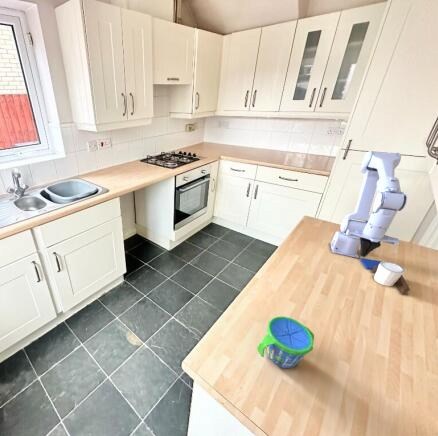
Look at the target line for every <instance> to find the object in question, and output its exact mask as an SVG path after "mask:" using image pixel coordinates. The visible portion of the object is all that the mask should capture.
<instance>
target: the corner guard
mask: <svg viewBox="0 0 438 436" xmlns="http://www.w3.org/2000/svg"><path fill="white" fill-rule="evenodd" d="M377 269H378V266H376V265H374V267H373V269H372V270H371V273H372V274H374V275H375V274H376V271H377ZM395 284H396V286H397V288H398V290H399V291H400V294H401V295H404V296H406V295H407V294H408V293H409V292H410V290H411V287H410V286H409V284H408V283H407V281H406V280H405V278H404V276H403V274H402V275H401V276H400V278H399V279H398V280H397V281H396V282H395Z"/></svg>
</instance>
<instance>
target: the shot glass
mask: <svg viewBox="0 0 438 436" xmlns="http://www.w3.org/2000/svg"><path fill="white" fill-rule="evenodd" d="M381 261H382V260H381ZM405 272H406V271H405V268H403V267H402V266H400V265H398V264H397V263H395V262H391V261H387V260H386V261H385V260H383V261H382V262H380V264H379V266H378V269H377V271H376V274H375V273H374V277H373V279H374V280H375V281H376V282H377V284H381V285H382V286H384V287H393V286H394V285H395V284H396V281H397V280H398V279H399V278H400V276H401V275H402V276H403V274H404V273H405Z"/></svg>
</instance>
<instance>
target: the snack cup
mask: <svg viewBox="0 0 438 436" xmlns="http://www.w3.org/2000/svg"><path fill="white" fill-rule="evenodd" d="M266 331H267V334H266V335H265V336H264V337H263V338H262V340H261V341H260V343H258V344H257V347H256V349H257V352H258V354H259V355H260V357H262V358H265V349H266V352H267V355H268V358H269V359H270V360H271V361H272V362H273V363H274V364H275V365H277V366H279V367H280V368H283V369H291V368H294V367H295V366H296V365H297V364H298V363H299V362H300V361H301V360H302V359H303V358H304V357H305V356H306V355H307V354H309V353H310V352H311V351H313V349H314V340H315V334H314V333H313V331H312V330H311V329H309V327H307V326H305V325H304V324H302V323H301V322H300V321H298V320H296V319H294V318H291V317H288V316H284V315H280V316H279V315H278V316H274V317H272V318H271V319H269V321H268V324H267V329H266Z"/></svg>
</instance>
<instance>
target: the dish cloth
mask: <svg viewBox="0 0 438 436" xmlns="http://www.w3.org/2000/svg"><path fill="white" fill-rule="evenodd" d="M359 260H360V262H361V263H362V265H363V266H364V267H365V269H366V270H370V271H372V269H373V267H374V265H376V266H379V264H380V262H382V260H375V259H369V258H365V257H360V259H359Z"/></svg>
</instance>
